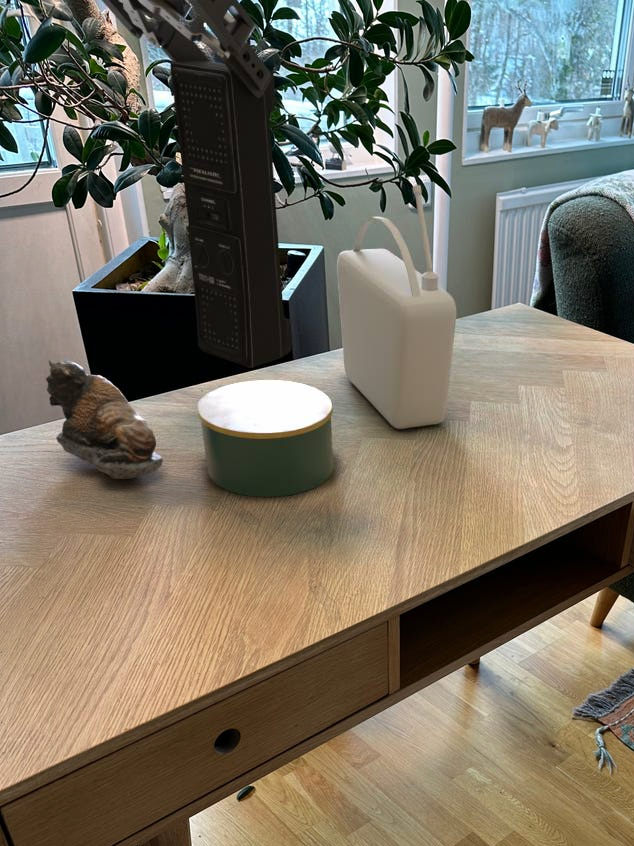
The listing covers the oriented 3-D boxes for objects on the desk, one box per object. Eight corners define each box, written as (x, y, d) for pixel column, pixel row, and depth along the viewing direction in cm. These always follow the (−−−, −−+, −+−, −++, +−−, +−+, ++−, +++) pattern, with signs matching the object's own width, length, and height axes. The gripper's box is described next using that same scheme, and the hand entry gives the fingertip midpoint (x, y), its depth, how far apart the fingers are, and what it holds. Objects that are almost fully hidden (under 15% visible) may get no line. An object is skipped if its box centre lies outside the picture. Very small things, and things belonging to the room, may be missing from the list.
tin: (179, 465, 93) (169, 402, 88) (280, 430, 101) (275, 370, 97) (260, 511, 86) (253, 445, 82) (361, 469, 94) (359, 407, 90)
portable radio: (187, 349, 82) (141, 22, 67) (236, 334, 86) (203, 23, 71) (247, 371, 79) (213, 32, 64) (294, 354, 83) (273, 32, 68)
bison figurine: (178, 471, 92) (163, 377, 86) (125, 497, 87) (105, 399, 81) (98, 440, 96) (78, 349, 90) (43, 463, 91) (18, 368, 85)
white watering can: (465, 430, 104) (478, 198, 89) (400, 440, 101) (401, 201, 85) (395, 365, 119) (396, 158, 104) (337, 372, 116) (329, 159, 101)
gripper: (157, -182, 52) (316, 52, 67) (34, -179, 59) (202, 32, 74) (91, -75, 52) (265, 136, 67) (-24, -85, 59) (156, 108, 74)
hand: (232, 81), depth 70 cm, fingers closed on portable radio, 7 cm apart
